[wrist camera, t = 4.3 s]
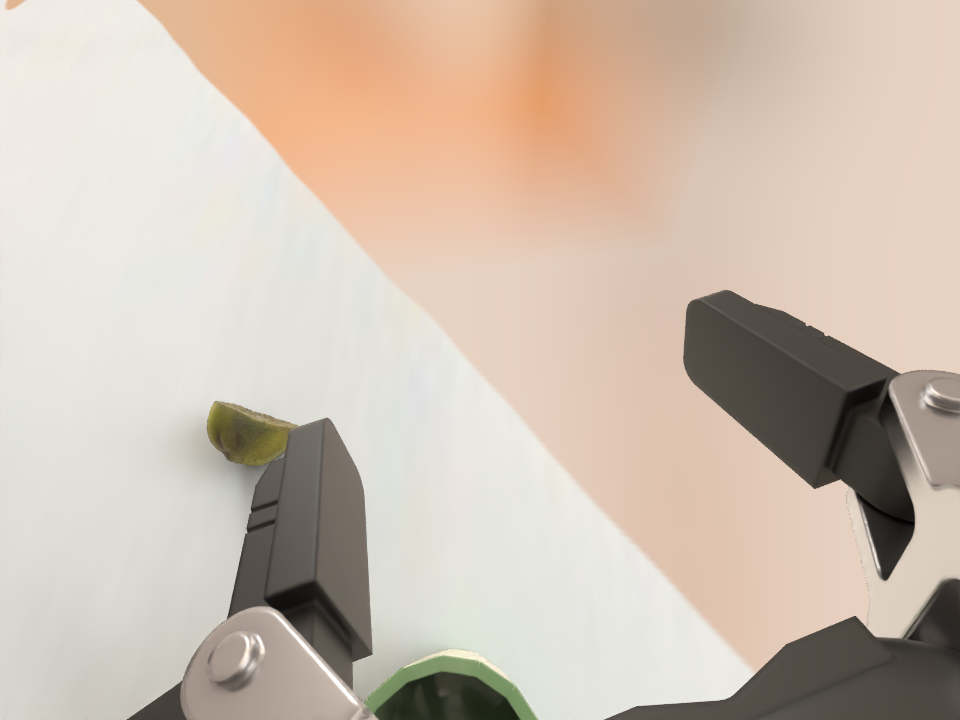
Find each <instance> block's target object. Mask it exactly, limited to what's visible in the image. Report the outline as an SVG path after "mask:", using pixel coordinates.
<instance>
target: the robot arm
mask: <svg viewBox="0 0 960 720" xmlns="http://www.w3.org/2000/svg"><path fill="white" fill-rule="evenodd" d="M683 360H684V366H685V369H686V371H687V374H688V376H689V378H690V379H691V381H693V383H694V384H695V385H696V386H697V387H698V388H699V389H701V390H702V391H703V392H704V393H705V394H706V395H707V396H709V397H710V398H711V399H712V400H713V401H714V402H716V403H717V404H718V405H719V406H720V407H721V408H722V409H723V410H725V411H726V412H727V413H728V414H729V415H730V416H732V417H733V418H734V419H735V420H736V421H737V422H738V423H740V424H741V425H742V426H743V427H744V428H745V429H746V430H748V431H749V432H750V433H751V434H752V435H753V436H754V437H756V438H757V439H758V440H759V441H760V442H761V443H762V444H764V445H765V446H766V447H767V448H768V449H770V450H771V451H772V452H773V453H774V454H775V455H776V456H777V457H778V458H780V459H781V460H782V461H783V462H784V463H785V464H786V465H788V466H789V467H790V468H792V470H793V471H795V472H796V473H797V474H798V475H799V476H800V477H801V478H803V479H804V480H805V481H806V482H807V483H808V484H809V485H811V486H812V487H813V488H814V489H816V488H819V487H821V486H824V485H827V484H829V483H832V482H835V481H837V480H840V479H841V480H842V481H843V482H844V483H846V484H847V485H848V486H849V488H848V490H847V493H846V503H847V506H848V511H849V515H850V519H851V523H852V527H853V531H854V535H855V539H856V543H857V547H858V551H859V555H860V559H861V564H862V568H863V572H864V575H865V579H866V584H867V588H868V596H869V607H868V608H869V609H868V615H867V626H865V625H864V624H863V623H862V622H861V621H860V620H859V619H858V618H857V617H856V616H854V617H851V618H849V619H846V620H844V621H841V622H839V623H837V624H834V625H832V626H829V627H827V628H824V629H822V630H820V631H817V632H815V633H812V634H810V635H808V636H805V637H803V638H800V639H798V640H796V641H793V642H791V643H788V644H786V645H785V646H784V647H783V648H782V649H781V650H780V651H779V652H778V653H777V654H776V655H775V656H774V657H773V658H772V659H771V660H770V661H769V662H768V663H766V664H765V665H764V667H762V669H760V670H759V671H758V672H757V673H756V674H755V675H754V676H753V677H752V678H751V679H750V680H749V681H748V682H747V683H746V684H745V685H744V686H743V687H742V688H740V689H739V690H738V691H737V692H736V693H735V694H734V695H733V696H731V697H730V698H727V699H725V700H720V701H707V702H692V703H678V704H663V705H649V706H636V707H634V708H631V709H629V710H627V711H624V712H622V713H619V714H617V715H614V716H612V717H610V718H607V719H605V720H960V374H956V373H951V372H945V371H936V370H917V371H910V372H906V373H903V374H900V373H898V372H896V371H894V370H892V369H891V368H889V367H887V366H885V365H883V364H881V363H879V362H878V361H876V360H874V359H872V358H870V357H868V356H866V355H864V354H863V353H861V352H859V351H857V350H855V349H853V348H851V347H849V346H847V345H846V344H844V343H842V342H840V341H838V340H836V339H834V338H832V337H831V336H825V335H824V333H823V332H821V331H819V330H817V329H815V328H813V327H812V326H806V324H805V323H804V322H802V321H800V320H799V319H797V318H795V317H793V316H791V315H789V314H787V313H785V312H783V311H780V310H776V309H772V308H769V307H765V306H761V305H758V304H754V303H752V302H750V301H748V300H747V299H745V298H743V297H741V296H739V295H737V294H736V293H734V292H732V291H729V290H724V291H720V292H717V293H714V294H711V295H708V296H705V297H701V298H699V299H695V300H693V301H691V302H690V303H689V304H688V307H687V311H686V326H685V341H684V356H683ZM251 511H252V513H251V514H250V515H249V519H248V524H247V532H248V533H247V534H245V538H244V543H243V548H242V552H241V557H240V562H239V566H238V571H237V576H236V580H235V585H234V590H233V595H232V599H231V604H230V609H229V613H228V617H227V620H225V621H224V622H222V623H221V624H220V625H219V626H218V627H217V628H215V629H214V630H213V631H212V632H211V633H210V634H209V636H208V637H207V638H206V639H205V640H204V641H203V643H202V644H201V645H200V646H199V648H198V649H197V651H196V652H195V654H194V655H193V657H192V659H191V661H190V663H189V665H188V667H187V669H186V672H185V675H184V677H183V681H181V682H180V683H179V684H177V685H176V686H175V687H173V688H172V689H171V690H169V691H168V692H166V693H165V694H163V695H162V696H160V697H159V698H157V699H156V700H155V701H153V702H152V703H150V704H149V705H147V706H146V707H144V708H143V709H142V710H140V711H139V712H137V713H136V714H134V715H133V716H131V717H130V718H129V719H127V720H379V719H378V718H377V717H376V716H375V715H374V714H373V713H372V712H371V711H370V710H369V708H368V707H367V706H366V705H365V704H364V703H363V702H362V701H361V700H360V699H359V698H358V696H357V695H356V694H355V693H354V692H353V673H352V662H354V661H357V660H359V659H362V658H364V657H367V656H370V655H372V635H371V615H370V596H369V576H368V557H367V538H366V518H365V499H364V490H363V485H362V481H361V478H360V475H359V472H358V470H357V468H356V466H355V464H354V462H353V460H352V458H351V456H350V454H349V452H348V451H347V449H346V447H345V445H344V443H343V441H342V439H341V437H340V435H339V434H338V432H337V430H336V428H335V426H334V424H333V423H332V421H331V420H330V419H329V418H324V419H321V420H318V421H315V422H312V423H309V424H306V425H303V426H300V427H297V428H294V429H291V430H290V431H289V433H288V439H287V445H286V452H285V458H283V459H280V460H277V461H274V462H271V463H270V464H269V466H268V467H267V469H266V470H265V472H264V474H263V475H262V477H261V478H260V480H259V481H258V483H257V485H256V487H255V491H254V496H253V501H252V505H251Z"/></svg>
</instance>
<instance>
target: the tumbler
mask: <svg viewBox="0 0 960 720" xmlns="http://www.w3.org/2000/svg"><path fill="white" fill-rule="evenodd" d="M364 704H365V705H366V706H367V707H368V708H369V710H370V711H371V712H372V713H373V714H374V715H375V716H376V717H377V718H378V719H379V720H538V719H537V717H536V716H535V714H534V713H533V711H532V710H531V708H530V707H529V705H528V703H527V702H526V700H525V699H524V697H523V696H522V694H521V693H520V691H519V690H518V688H517V687H516V686H515V685H514V684H513V683H512V682H511V681H510V679H509V678H508V677H507V676H506V675H505V674H504V673H503V672H502V671H501V670H500V669H499V668H498V667H497V666H495V665H494V664H492V663H491V662H489V661H488V660H487V659H485V658H483V657H482V656H481V655H479V654H478V653H475V652H470V651H465V650H457V649H447V650H444V651H441V652H438V653H435V654H431V655H428V656H425V657H423V658H421V659H419V660H417V661H415V662H412V663H410V664H408V665H406V666H404V667H402V668H400V669H399V670H398V671H397V672H396V673H395V674H393V675H392V676H391V677H390V678H389V679H388V680H386V681H385V682H384V683H383V684H382V685H381V686H380V687H378V688H377V689H376V690H375V691H374V692H373V693H371V694H370V695H369V696H368V698H367V699H366V700H365V702H364Z"/></svg>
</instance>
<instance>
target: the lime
mask: <svg viewBox="0 0 960 720" xmlns="http://www.w3.org/2000/svg"><path fill="white" fill-rule="evenodd" d="M297 427H299V426H298V425H294V424H291V423H289V422H286V421H283V420H279V419H275V418H274V417H271V416H268V415H265V414H261V413H257V412H253V411H251V410H248V409H246V408H244V407H242V406H239V405H235V404H230V403H225V402H219V401H215V402H214V404H213V405H212V407H211V410H210V413H209V417H208V421H207V432H208V436H209V439H210V441H211V443H212V444H213V445H214V446H215V447H216V448H217V449H218V450H219V451H221V452H222V453H223V454H224V455H225V457H226V458H227V460H229V461H231V462H235V463H240V464H246V465H250V466H257V465H263V464H267V463H269V462H271V461H272V460H274V459H276V458H277V457H278V456H279V455H281V454H282V453H284V452H285V451H286V445H287V439H288V433H289V431H290V430H291V429H294V428H297Z"/></svg>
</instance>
